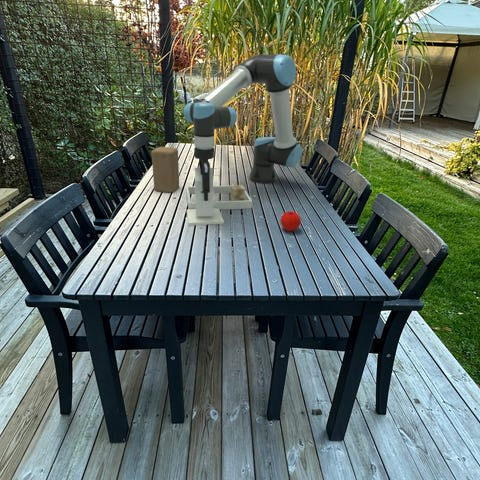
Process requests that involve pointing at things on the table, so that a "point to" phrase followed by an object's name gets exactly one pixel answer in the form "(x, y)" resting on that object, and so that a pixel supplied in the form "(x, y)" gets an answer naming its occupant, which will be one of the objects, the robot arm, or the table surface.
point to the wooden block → (165, 169)
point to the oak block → (237, 193)
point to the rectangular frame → (221, 204)
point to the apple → (290, 221)
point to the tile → (204, 218)
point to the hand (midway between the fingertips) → (204, 203)
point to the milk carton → (198, 194)
